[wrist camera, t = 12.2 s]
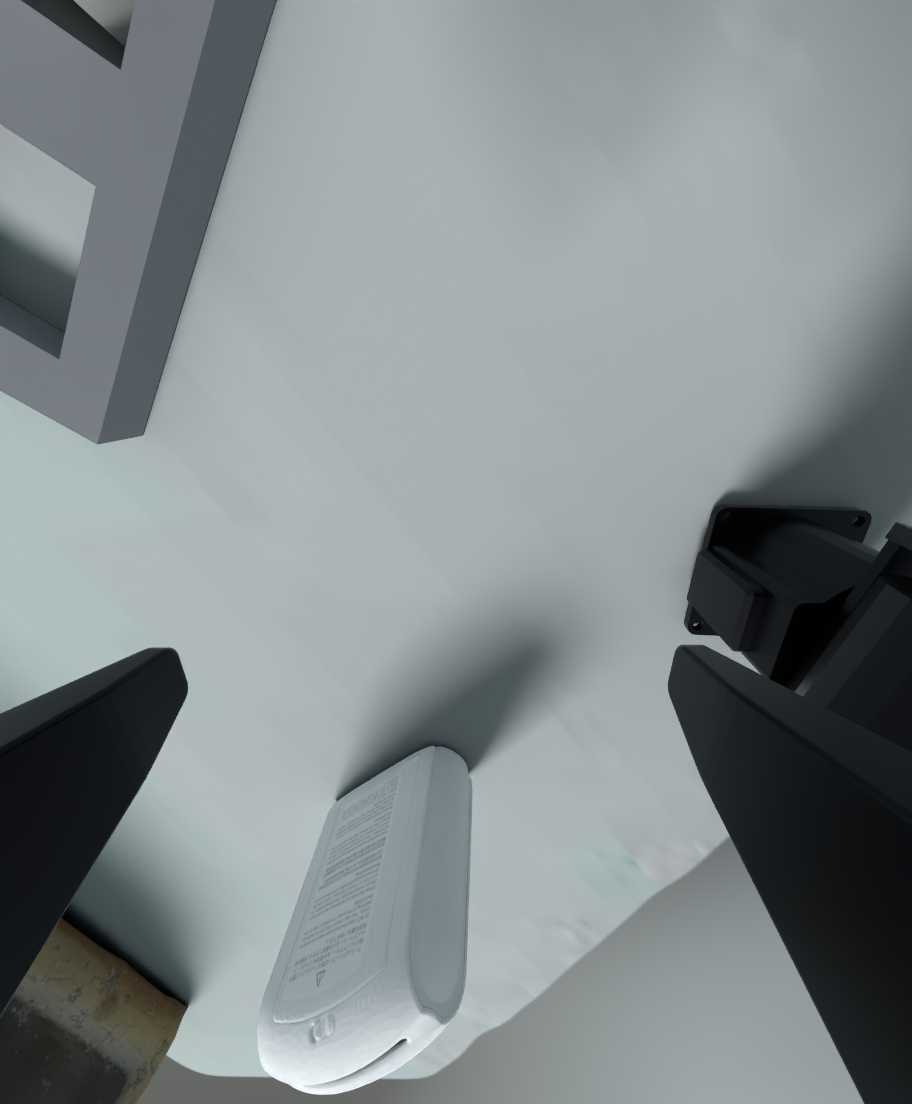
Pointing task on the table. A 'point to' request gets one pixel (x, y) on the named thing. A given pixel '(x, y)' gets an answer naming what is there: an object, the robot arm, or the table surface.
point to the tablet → (83, 1027)
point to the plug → (111, 15)
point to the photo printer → (375, 931)
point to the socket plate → (123, 192)
